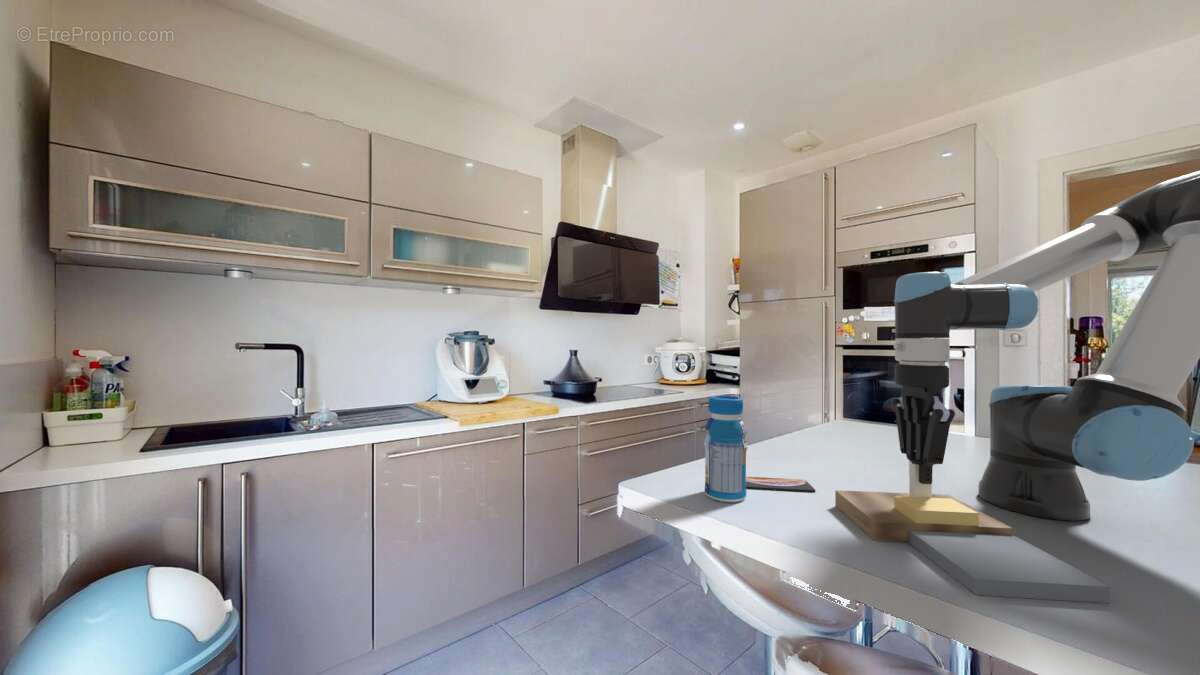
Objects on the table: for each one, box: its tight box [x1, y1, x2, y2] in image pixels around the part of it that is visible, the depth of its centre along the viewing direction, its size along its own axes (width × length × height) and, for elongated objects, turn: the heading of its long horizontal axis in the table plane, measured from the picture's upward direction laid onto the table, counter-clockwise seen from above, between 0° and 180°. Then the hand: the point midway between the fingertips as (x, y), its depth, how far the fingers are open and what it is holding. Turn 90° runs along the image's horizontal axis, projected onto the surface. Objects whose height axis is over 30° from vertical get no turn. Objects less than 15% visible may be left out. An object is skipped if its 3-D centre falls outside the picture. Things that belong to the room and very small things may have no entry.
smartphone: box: [746, 476, 816, 494], centre depth 93 cm, size 8×1×15 cm
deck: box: [834, 489, 1014, 544], centre depth 73 cm, size 20×14×3 cm
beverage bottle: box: [703, 395, 748, 503], centre depth 86 cm, size 8×8×20 cm
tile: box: [894, 496, 979, 526], centre depth 70 cm, size 9×6×2 cm, turn 84°
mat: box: [909, 531, 1111, 604], centre depth 59 cm, size 15×13×2 cm
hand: (920, 500), depth 73 cm, fingers closed
